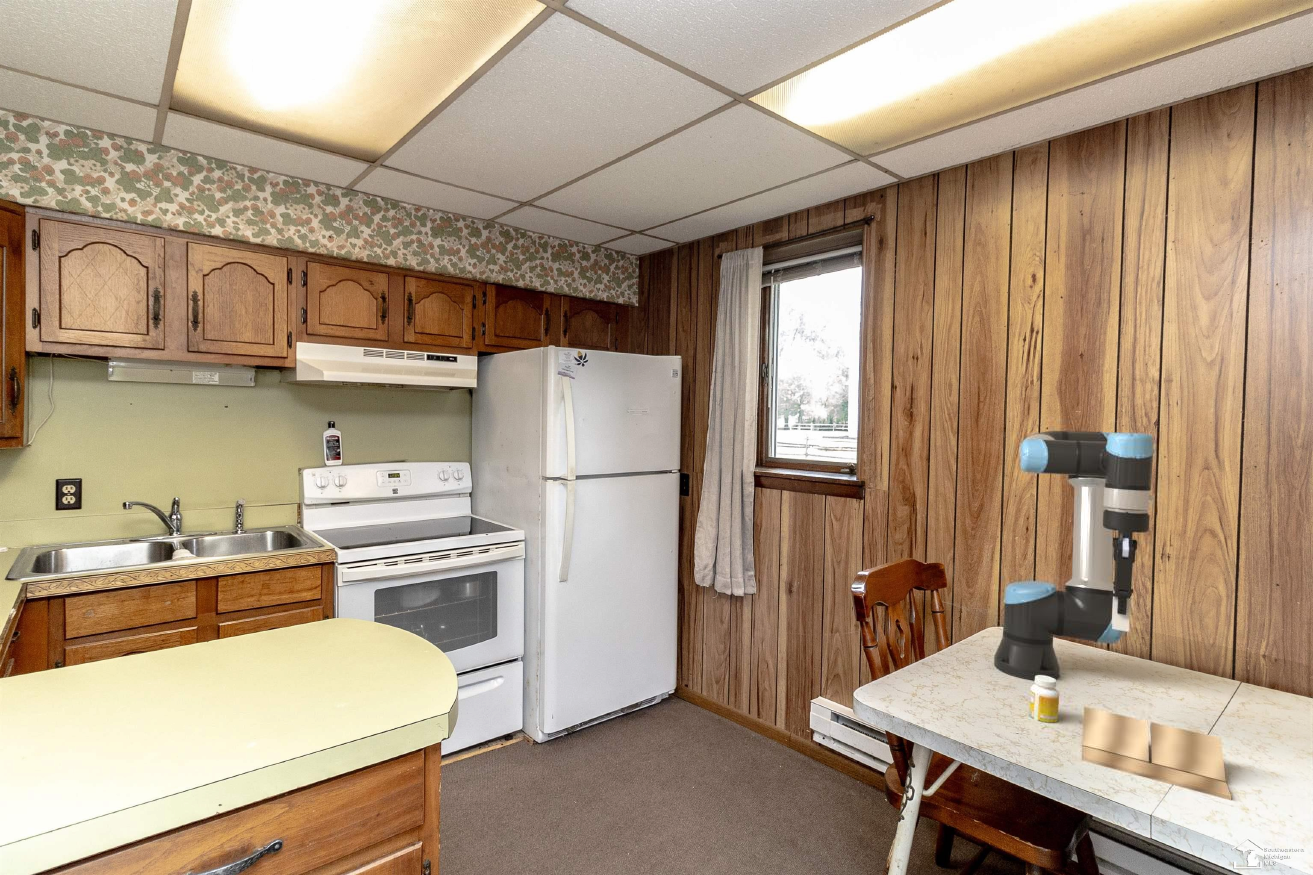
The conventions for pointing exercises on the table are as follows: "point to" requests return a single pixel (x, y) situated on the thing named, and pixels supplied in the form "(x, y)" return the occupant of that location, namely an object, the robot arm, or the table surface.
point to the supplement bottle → (1044, 700)
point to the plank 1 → (1116, 734)
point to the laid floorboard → (1156, 772)
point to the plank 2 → (1187, 751)
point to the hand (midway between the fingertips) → (1120, 626)
